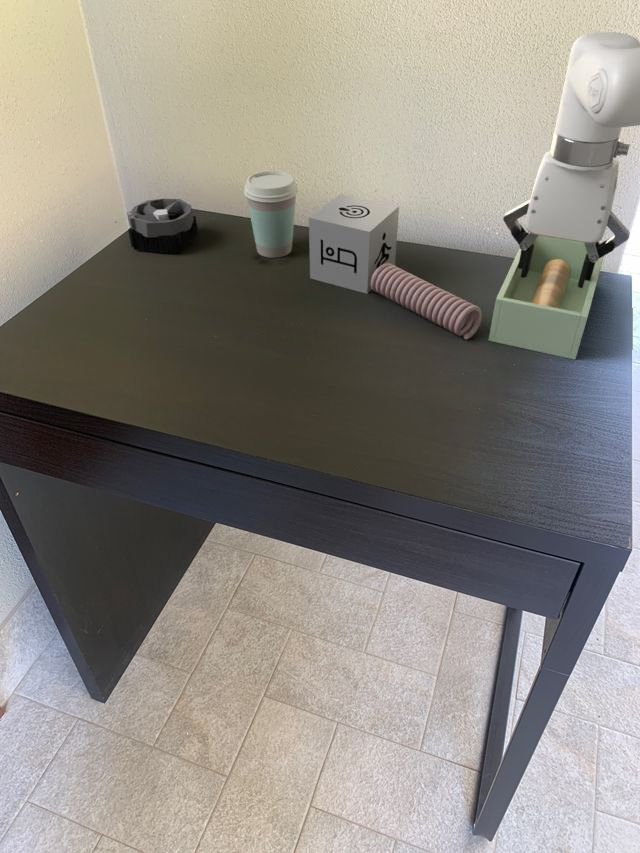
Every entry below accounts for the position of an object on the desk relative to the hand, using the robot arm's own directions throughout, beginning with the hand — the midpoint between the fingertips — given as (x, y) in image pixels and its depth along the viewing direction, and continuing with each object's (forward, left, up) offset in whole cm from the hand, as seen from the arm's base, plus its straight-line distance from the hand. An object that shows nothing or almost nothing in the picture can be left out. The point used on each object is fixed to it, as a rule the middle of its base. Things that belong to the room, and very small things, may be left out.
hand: (553, 277), depth 95 cm
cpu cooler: (+64, +2, -6) cm, 64 cm away
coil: (+16, +7, -6) cm, 19 cm away
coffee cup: (+45, -2, -6) cm, 45 cm away
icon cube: (+30, 0, -6) cm, 31 cm away
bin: (0, 0, -6) cm, 6 cm away
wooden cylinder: (-1, 0, -5) cm, 5 cm away
